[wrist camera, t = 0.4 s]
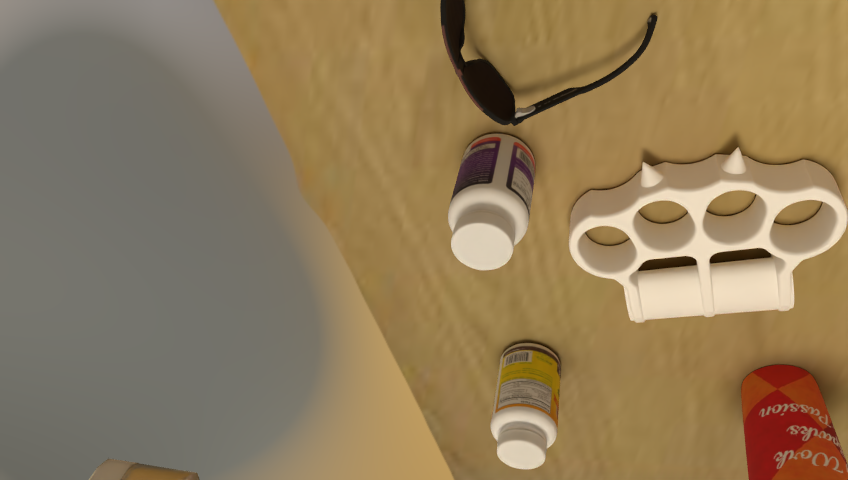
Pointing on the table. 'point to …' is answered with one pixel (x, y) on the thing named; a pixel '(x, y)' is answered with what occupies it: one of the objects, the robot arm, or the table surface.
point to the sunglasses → (488, 83)
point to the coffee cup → (789, 427)
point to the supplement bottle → (526, 405)
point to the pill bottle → (491, 201)
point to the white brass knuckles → (708, 235)
